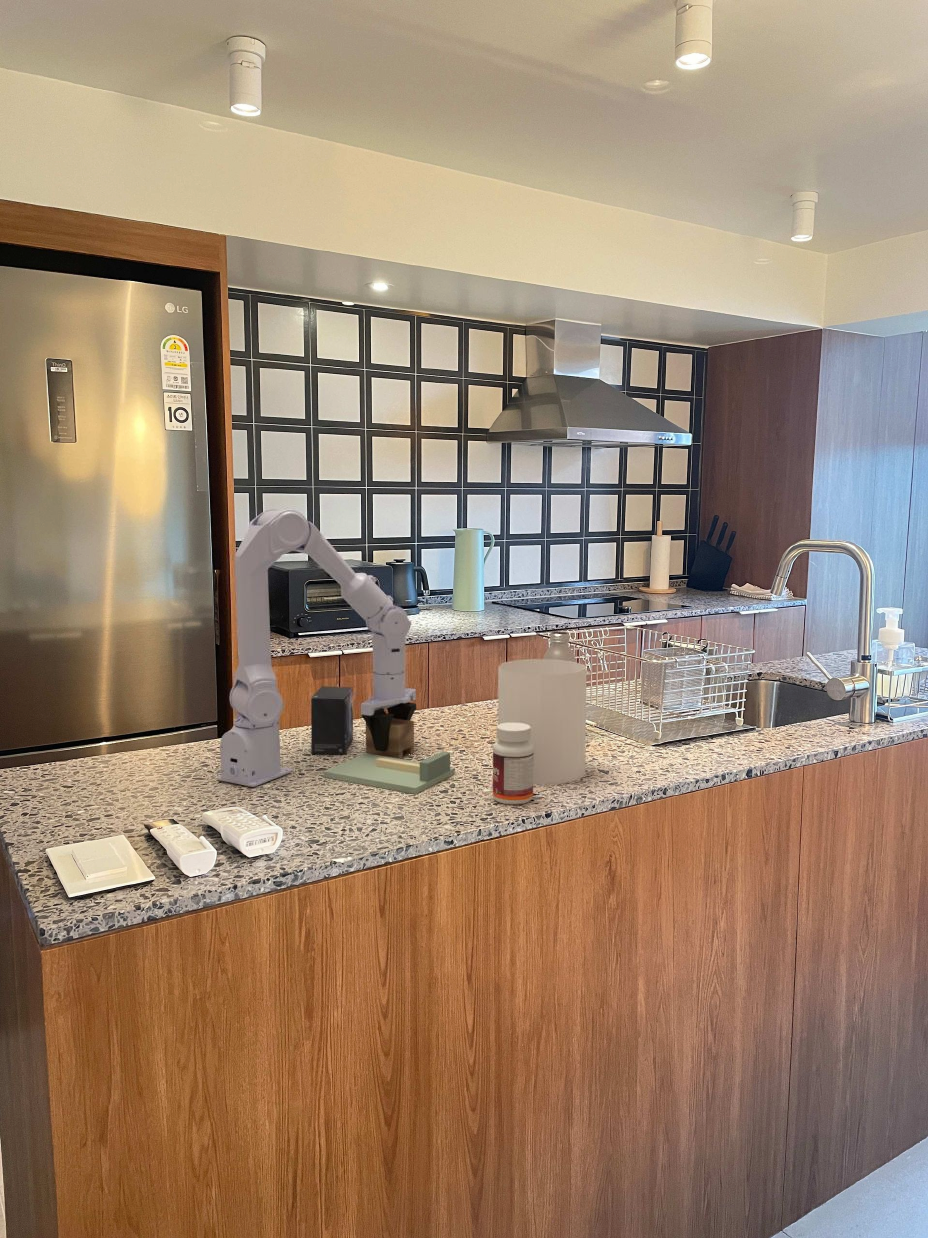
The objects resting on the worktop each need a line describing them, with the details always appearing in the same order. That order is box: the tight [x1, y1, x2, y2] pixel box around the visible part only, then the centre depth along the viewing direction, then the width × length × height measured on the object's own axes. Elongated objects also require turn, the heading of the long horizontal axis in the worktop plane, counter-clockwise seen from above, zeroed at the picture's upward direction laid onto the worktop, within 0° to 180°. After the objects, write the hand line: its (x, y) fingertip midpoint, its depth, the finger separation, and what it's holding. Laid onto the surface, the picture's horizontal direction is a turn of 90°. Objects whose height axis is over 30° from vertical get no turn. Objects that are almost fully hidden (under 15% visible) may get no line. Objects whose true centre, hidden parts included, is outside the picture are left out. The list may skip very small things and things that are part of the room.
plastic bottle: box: [542, 631, 577, 663], centre depth 170 cm, size 6×7×20 cm
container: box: [497, 658, 588, 786], centre depth 147 cm, size 14×14×18 cm
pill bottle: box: [492, 723, 534, 805], centre depth 133 cm, size 6×6×11 cm
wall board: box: [322, 751, 456, 795], centre depth 145 cm, size 12×18×4 cm, turn 61°
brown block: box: [365, 718, 415, 759], centre depth 158 cm, size 5×7×6 cm
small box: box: [310, 685, 354, 755], centre depth 162 cm, size 11×6×10 cm, turn 179°
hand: (390, 746), depth 158 cm, fingers open, 5 cm apart
